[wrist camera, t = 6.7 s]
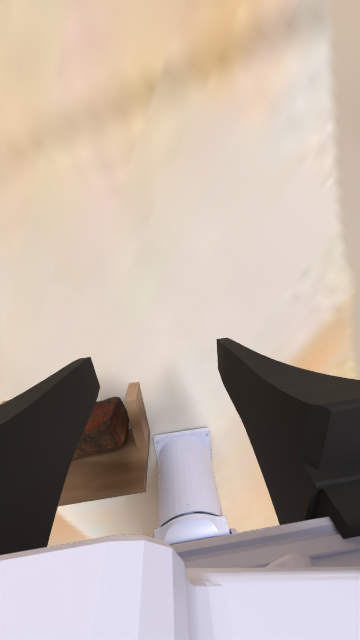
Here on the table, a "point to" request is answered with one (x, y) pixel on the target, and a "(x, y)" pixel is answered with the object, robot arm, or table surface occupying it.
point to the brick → (103, 429)
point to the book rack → (113, 461)
